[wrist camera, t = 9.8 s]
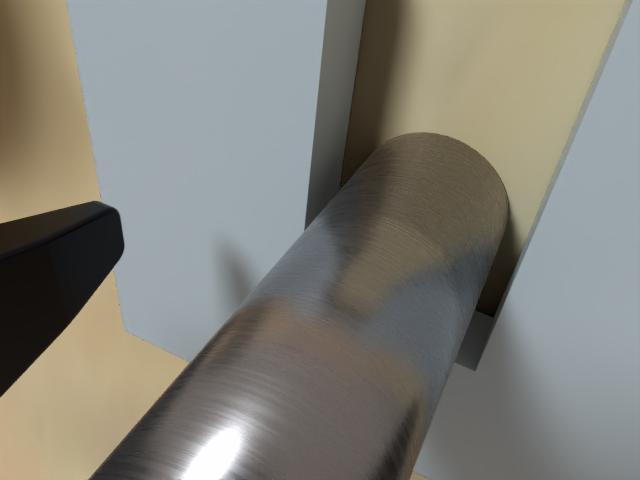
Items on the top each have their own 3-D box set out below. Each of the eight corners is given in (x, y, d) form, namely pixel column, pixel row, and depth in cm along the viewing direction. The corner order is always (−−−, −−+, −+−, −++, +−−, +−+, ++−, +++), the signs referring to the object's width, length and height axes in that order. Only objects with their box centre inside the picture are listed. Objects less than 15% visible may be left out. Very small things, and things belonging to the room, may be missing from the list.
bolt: (500, 313, 12) (273, 1001, 5) (326, 247, 13) (-53, 730, 6) (571, 144, 9) (315, 1059, 2) (348, 80, 10) (-252, 581, 4)
